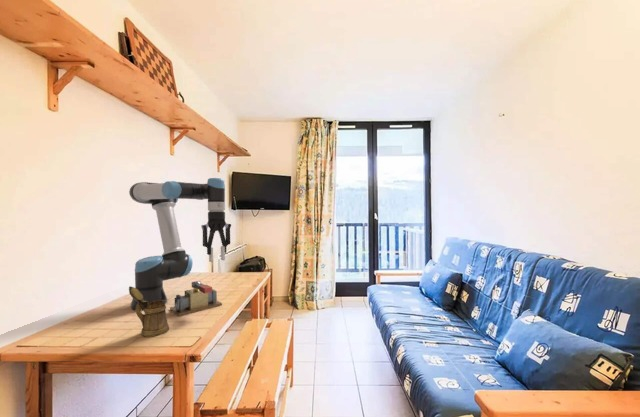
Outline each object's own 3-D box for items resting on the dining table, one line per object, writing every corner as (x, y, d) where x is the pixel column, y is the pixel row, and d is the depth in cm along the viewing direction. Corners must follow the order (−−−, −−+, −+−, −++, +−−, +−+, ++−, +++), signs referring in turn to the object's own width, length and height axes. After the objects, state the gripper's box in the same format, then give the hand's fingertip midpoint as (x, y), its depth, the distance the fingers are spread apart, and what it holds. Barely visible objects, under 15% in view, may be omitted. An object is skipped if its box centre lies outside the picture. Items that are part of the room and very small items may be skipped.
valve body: (169, 309, 130) (169, 288, 130) (211, 299, 144) (211, 280, 144) (178, 316, 121) (177, 293, 121) (222, 305, 135) (221, 284, 135)
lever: (190, 286, 133) (190, 282, 133) (198, 285, 135) (198, 280, 135) (203, 293, 121) (203, 288, 121) (212, 291, 123) (212, 286, 123)
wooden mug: (134, 329, 109) (134, 283, 109) (172, 325, 111) (171, 281, 112) (123, 339, 100) (123, 289, 100) (164, 335, 103) (164, 286, 103)
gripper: (200, 211, 121) (200, 264, 121) (238, 210, 133) (238, 259, 133) (193, 211, 126) (194, 262, 126) (230, 211, 139) (231, 257, 139)
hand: (217, 260), depth 130 cm, fingers open, 5 cm apart
